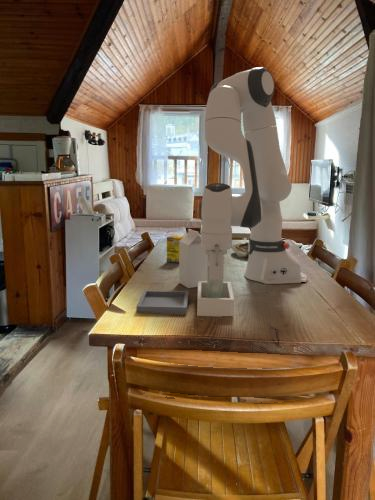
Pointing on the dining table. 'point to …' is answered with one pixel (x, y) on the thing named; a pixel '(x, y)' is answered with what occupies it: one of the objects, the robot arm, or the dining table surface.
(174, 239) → the supplement box
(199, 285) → the white open box
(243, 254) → the pie
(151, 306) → the tray
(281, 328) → the dining table surface
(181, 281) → the milk carton
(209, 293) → the dowel pin
